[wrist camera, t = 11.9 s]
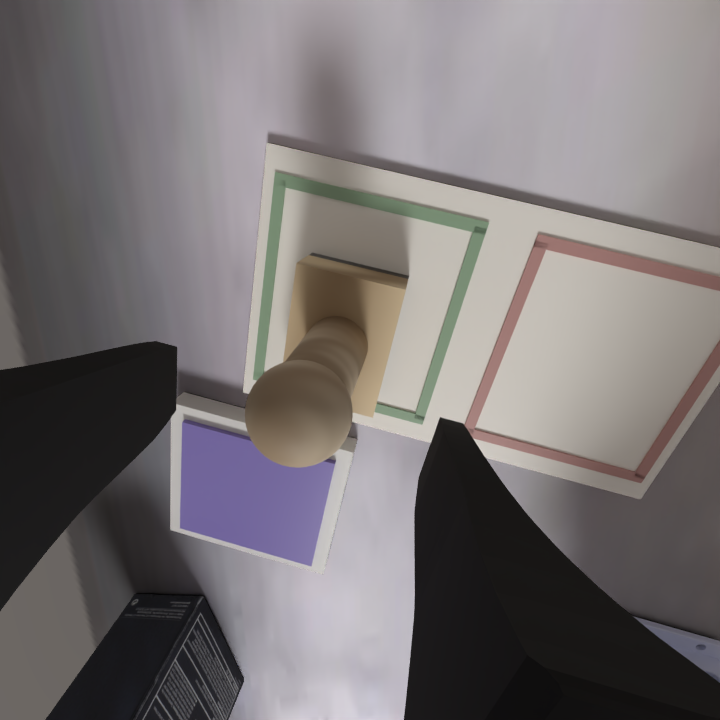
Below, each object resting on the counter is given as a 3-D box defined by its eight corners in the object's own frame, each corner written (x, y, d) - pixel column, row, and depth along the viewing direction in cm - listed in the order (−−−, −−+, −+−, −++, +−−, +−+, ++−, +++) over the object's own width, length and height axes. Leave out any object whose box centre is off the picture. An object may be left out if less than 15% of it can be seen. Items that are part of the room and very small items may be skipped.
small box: (129, 590, 32) (-1, 768, 22) (205, 591, 30) (101, 782, 21) (178, 676, 36) (86, 858, 26) (247, 681, 34) (176, 875, 25)
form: (792, 264, 16) (800, 266, 16) (637, 495, 21) (641, 500, 21) (269, 143, 17) (266, 142, 17) (245, 389, 22) (242, 393, 22)
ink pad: (357, 439, 22) (352, 456, 21) (327, 558, 27) (321, 579, 25) (183, 391, 23) (167, 405, 22) (180, 515, 27) (167, 533, 26)
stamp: (409, 275, 18) (387, 366, 10) (379, 392, 21) (341, 543, 12) (312, 252, 18) (208, 321, 10) (294, 370, 21) (201, 503, 13)
